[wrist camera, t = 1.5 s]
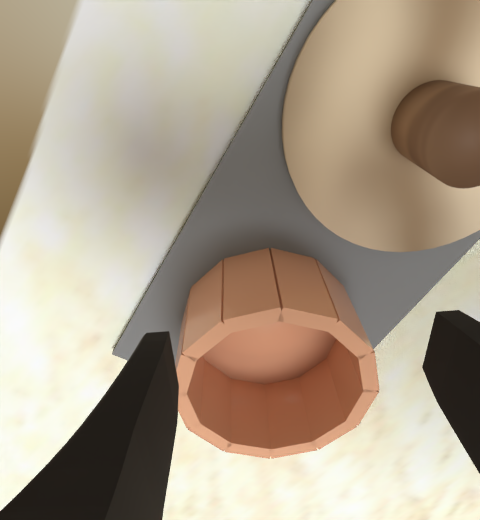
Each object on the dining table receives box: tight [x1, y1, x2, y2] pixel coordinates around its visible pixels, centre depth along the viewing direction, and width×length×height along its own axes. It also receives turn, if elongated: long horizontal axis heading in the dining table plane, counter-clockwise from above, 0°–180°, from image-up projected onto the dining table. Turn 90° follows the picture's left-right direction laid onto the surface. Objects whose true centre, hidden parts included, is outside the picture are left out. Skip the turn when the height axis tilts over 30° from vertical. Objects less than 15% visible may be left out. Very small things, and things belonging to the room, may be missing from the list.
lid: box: [282, 0, 480, 252], centre depth 15 cm, size 12×12×4 cm
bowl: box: [175, 248, 379, 459], centre depth 20 cm, size 9×9×5 cm
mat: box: [112, 0, 480, 361], centre depth 20 cm, size 25×13×1 cm, turn 149°
